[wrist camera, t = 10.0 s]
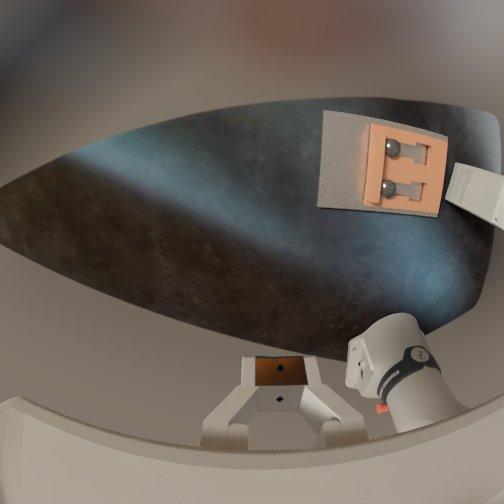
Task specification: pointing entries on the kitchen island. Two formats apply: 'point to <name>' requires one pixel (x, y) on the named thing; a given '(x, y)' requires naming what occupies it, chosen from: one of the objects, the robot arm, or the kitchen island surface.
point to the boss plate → (362, 162)
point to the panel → (404, 170)
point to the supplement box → (478, 193)
